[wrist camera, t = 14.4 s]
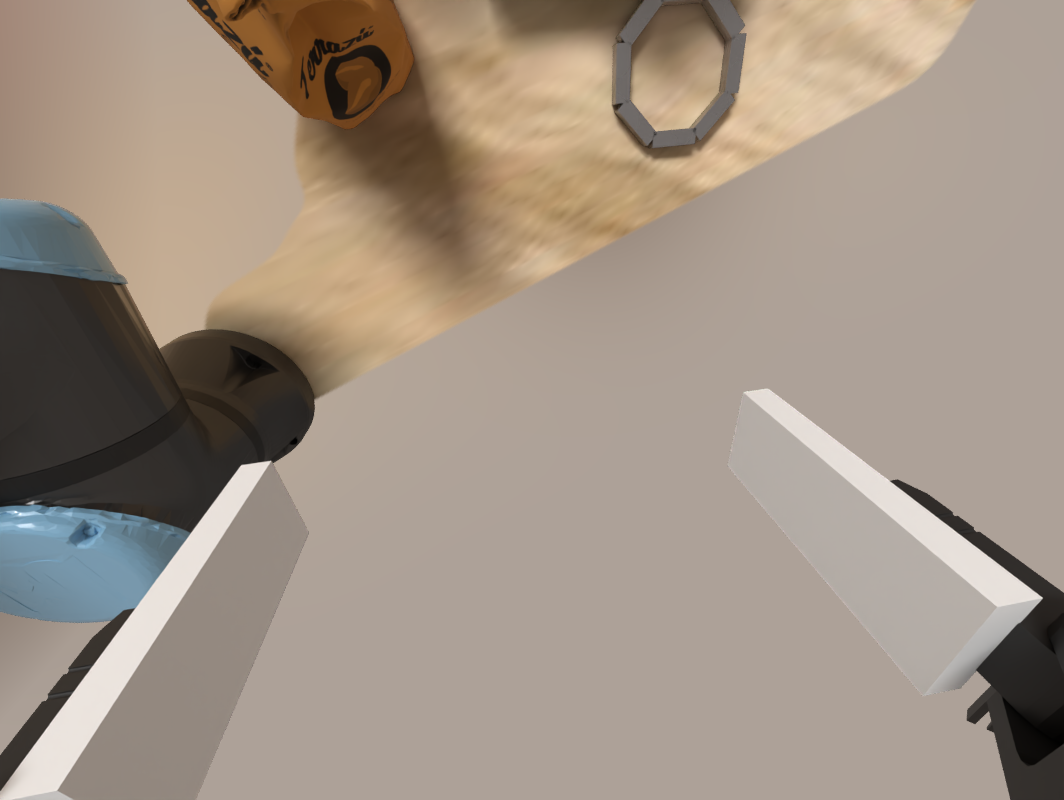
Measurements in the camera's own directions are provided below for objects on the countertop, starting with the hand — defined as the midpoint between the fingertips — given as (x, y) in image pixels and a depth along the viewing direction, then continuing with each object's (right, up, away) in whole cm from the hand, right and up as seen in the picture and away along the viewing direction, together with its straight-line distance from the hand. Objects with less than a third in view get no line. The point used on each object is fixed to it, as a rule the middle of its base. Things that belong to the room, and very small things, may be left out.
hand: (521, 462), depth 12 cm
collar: (+12, +30, +23) cm, 39 cm away
